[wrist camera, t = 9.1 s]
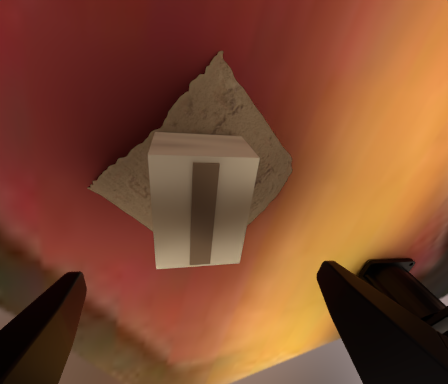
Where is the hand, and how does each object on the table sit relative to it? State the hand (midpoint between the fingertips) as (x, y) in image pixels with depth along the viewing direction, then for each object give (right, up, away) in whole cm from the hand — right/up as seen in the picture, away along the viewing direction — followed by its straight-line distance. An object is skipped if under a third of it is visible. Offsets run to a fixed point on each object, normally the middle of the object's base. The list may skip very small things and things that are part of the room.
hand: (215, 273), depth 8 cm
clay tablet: (-2, +5, +9) cm, 10 cm away
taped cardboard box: (-1, +3, +6) cm, 7 cm away
